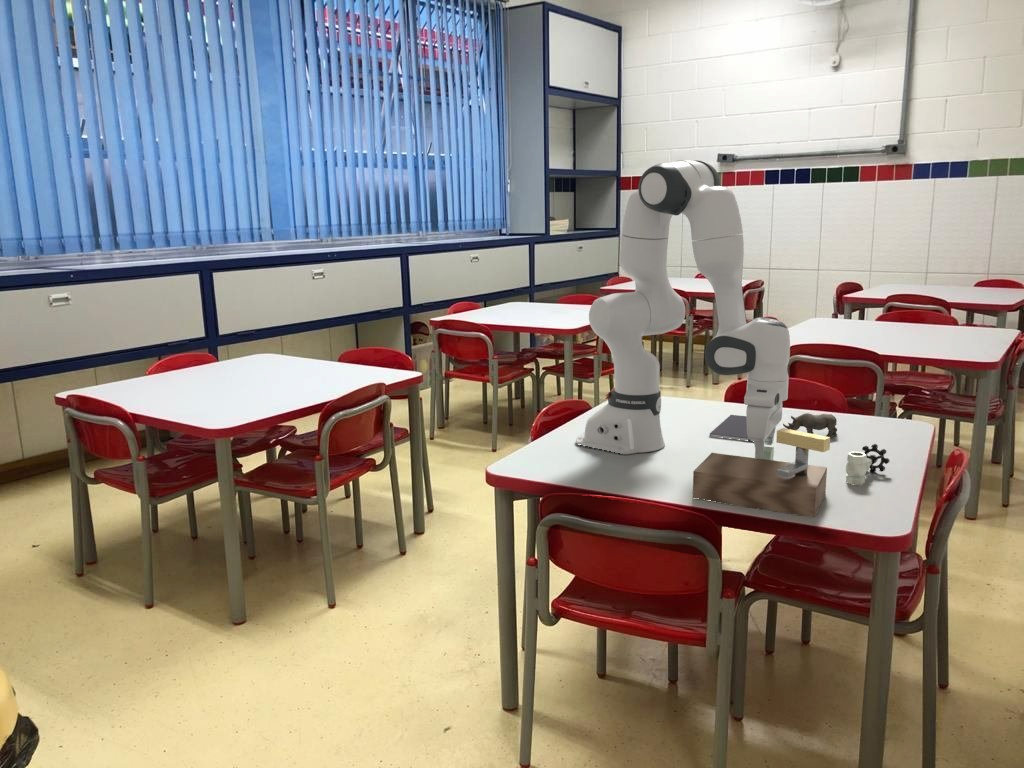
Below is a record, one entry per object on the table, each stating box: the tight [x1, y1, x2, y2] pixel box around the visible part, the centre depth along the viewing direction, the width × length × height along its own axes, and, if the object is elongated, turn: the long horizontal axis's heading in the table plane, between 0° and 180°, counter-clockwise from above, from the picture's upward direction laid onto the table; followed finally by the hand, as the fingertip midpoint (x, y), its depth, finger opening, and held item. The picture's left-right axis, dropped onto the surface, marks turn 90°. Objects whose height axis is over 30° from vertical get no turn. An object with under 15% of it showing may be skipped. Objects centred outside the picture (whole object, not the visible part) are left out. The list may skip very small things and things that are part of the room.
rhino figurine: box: [782, 413, 838, 438], centre depth 210 cm, size 4×14×6 cm, turn 79°
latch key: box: [776, 427, 831, 477], centre depth 160 cm, size 9×10×8 cm
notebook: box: [709, 414, 754, 442], centre depth 217 cm, size 13×2×21 cm
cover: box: [737, 445, 794, 463], centre depth 185 cm, size 14×10×6 cm
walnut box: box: [692, 452, 828, 518], centre depth 167 cm, size 24×14×6 cm, turn 61°
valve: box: [845, 443, 890, 486], centre depth 177 cm, size 7×7×12 cm
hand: (764, 449), depth 184 cm, fingers open, 8 cm apart
